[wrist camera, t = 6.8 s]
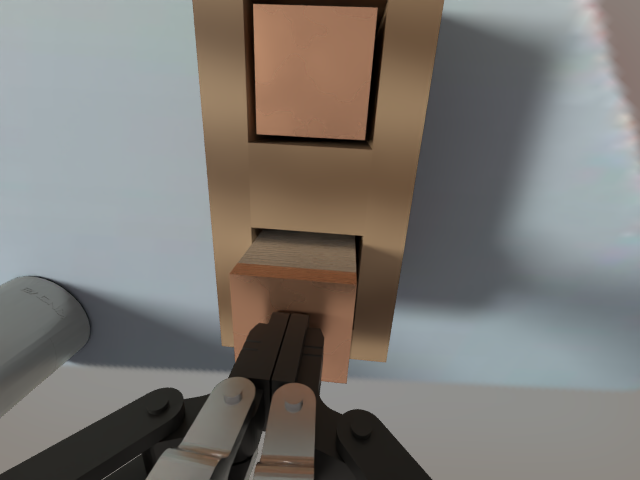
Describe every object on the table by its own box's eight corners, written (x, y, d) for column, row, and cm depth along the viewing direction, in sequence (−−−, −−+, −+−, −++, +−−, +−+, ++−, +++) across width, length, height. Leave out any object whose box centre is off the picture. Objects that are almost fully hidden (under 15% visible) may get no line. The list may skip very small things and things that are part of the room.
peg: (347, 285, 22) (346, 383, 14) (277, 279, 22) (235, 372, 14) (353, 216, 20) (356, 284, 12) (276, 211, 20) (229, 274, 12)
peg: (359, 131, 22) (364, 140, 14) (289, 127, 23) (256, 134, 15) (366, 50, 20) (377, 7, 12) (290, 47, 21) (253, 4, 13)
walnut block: (374, 286, 27) (385, 362, 19) (260, 276, 28) (221, 346, 19) (410, 6, 20) (456, -75, 11) (253, 2, 20) (185, -79, 12)
